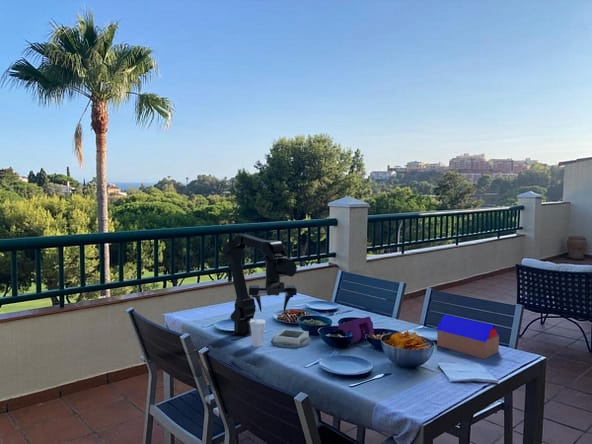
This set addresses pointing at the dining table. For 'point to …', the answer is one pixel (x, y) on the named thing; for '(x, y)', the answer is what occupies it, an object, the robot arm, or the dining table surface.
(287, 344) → the disk with square socket
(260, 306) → the robot arm
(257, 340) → the smoothie
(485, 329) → the house
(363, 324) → the mounting bracket
